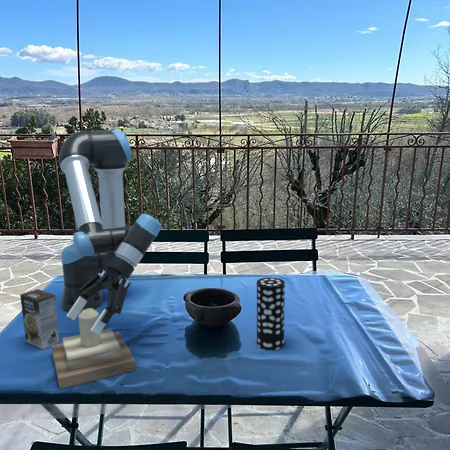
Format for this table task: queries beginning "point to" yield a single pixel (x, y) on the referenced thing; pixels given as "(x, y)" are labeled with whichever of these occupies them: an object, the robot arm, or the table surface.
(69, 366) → the two-tier square platform
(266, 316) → the white-spotted black cylinder
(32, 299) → the coffee box
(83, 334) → the candle
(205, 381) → the table surface
